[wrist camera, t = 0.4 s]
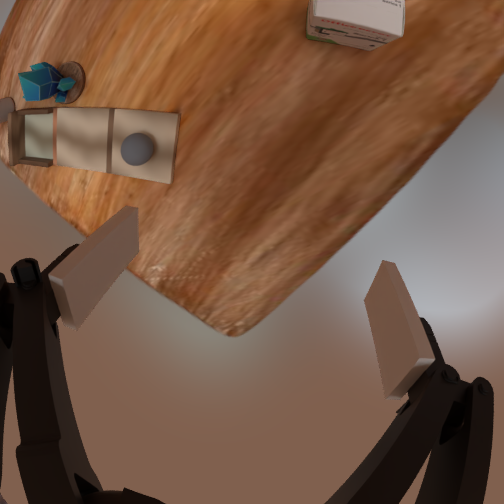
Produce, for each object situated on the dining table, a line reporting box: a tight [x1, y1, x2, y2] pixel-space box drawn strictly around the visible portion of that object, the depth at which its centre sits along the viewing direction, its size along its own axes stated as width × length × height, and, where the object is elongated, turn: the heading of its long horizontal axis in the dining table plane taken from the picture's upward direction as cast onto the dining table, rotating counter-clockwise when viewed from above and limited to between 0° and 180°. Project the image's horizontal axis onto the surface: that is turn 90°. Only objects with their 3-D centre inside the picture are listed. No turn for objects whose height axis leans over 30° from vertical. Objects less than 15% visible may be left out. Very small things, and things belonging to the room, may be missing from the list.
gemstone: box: [18, 62, 85, 104], centre depth 28 cm, size 7×9×12 cm
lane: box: [8, 107, 181, 184], centre depth 36 cm, size 10×33×4 cm, turn 79°
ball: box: [121, 133, 153, 166], centre depth 35 cm, size 4×4×4 cm
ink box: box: [306, 0, 405, 51], centre depth 22 cm, size 9×5×12 cm, turn 86°
